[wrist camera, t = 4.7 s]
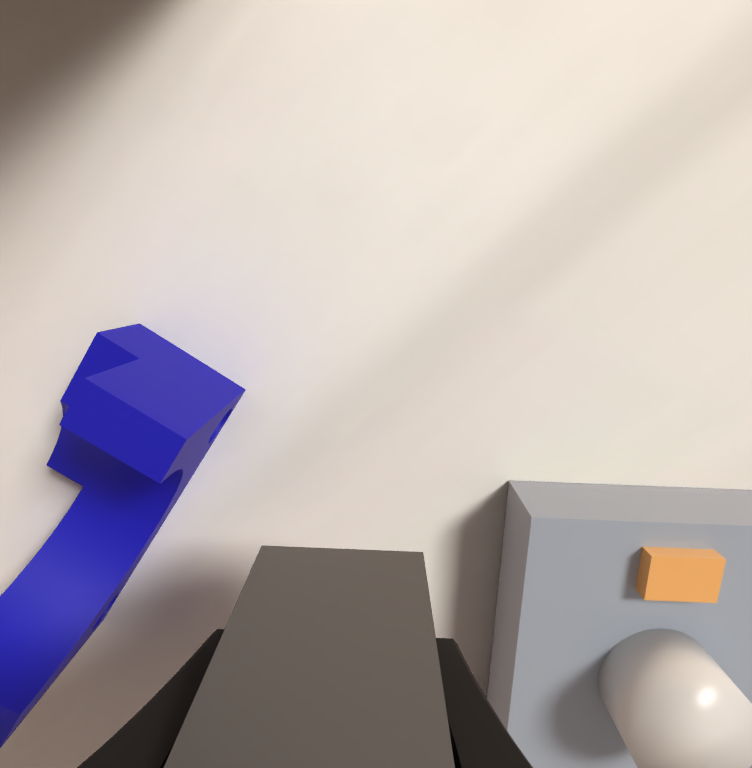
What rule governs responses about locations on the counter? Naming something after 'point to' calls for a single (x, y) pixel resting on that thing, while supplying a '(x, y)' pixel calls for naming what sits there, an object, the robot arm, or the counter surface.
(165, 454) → the cable clip
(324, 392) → the counter surface
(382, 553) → the plug
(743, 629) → the power strip
